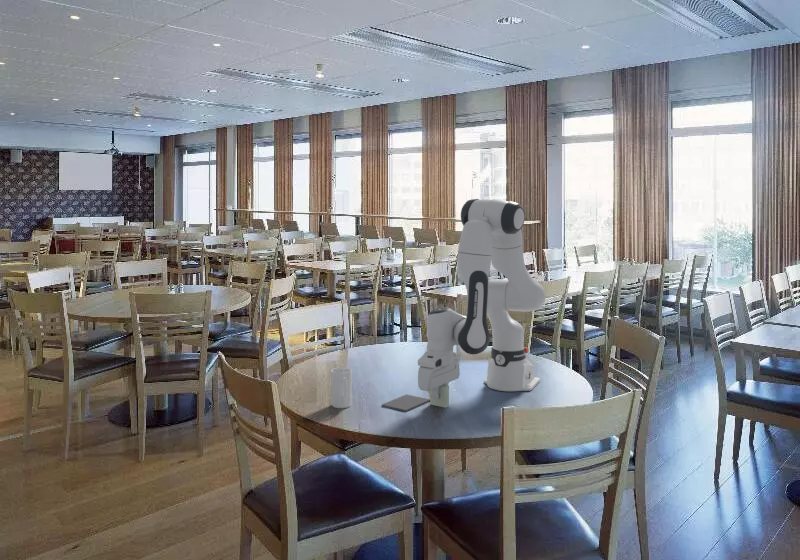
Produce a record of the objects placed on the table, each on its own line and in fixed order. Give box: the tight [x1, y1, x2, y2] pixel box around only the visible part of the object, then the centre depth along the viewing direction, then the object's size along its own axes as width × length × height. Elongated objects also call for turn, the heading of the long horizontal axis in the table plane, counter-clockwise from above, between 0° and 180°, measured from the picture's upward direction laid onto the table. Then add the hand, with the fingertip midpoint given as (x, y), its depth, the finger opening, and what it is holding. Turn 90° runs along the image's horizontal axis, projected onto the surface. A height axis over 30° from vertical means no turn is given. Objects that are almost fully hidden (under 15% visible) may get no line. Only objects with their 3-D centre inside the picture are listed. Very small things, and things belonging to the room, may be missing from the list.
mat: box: [381, 394, 430, 413], centre depth 231 cm, size 14×10×1 cm
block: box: [429, 384, 450, 409], centre depth 229 cm, size 2×6×7 cm, turn 54°
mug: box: [330, 367, 353, 409], centre depth 227 cm, size 10×7×12 cm, turn 17°
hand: (439, 397), depth 229 cm, fingers closed on block, 2 cm apart
